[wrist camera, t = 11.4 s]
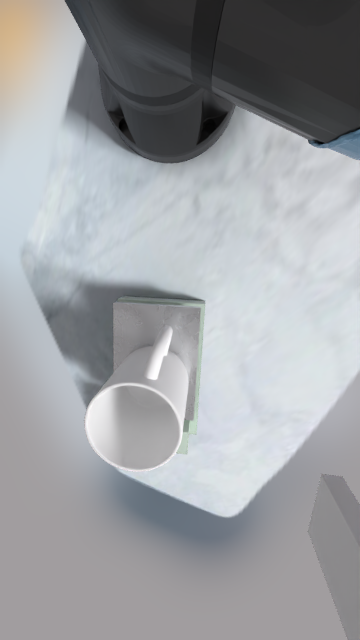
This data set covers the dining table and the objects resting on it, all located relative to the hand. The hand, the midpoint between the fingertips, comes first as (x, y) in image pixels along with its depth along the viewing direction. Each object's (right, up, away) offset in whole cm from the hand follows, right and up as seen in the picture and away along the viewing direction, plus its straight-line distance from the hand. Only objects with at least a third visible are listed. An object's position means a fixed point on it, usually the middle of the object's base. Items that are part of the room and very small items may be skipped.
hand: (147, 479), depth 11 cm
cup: (-1, +1, +21) cm, 21 cm away
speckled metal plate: (-1, +2, +24) cm, 24 cm away
